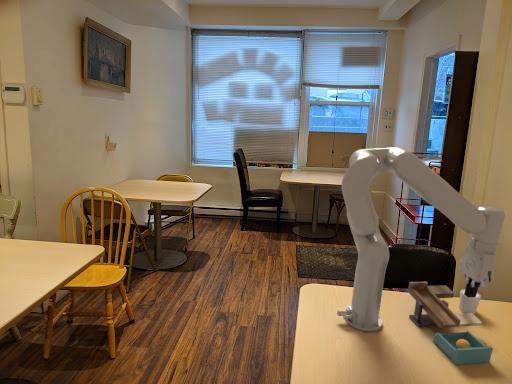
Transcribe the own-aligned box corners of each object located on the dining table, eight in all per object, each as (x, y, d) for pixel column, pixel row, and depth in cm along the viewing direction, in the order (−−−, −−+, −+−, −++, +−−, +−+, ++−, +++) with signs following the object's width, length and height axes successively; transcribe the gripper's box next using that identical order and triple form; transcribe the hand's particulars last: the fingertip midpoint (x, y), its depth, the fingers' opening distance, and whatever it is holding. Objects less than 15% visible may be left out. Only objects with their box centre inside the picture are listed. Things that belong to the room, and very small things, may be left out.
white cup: (480, 316, 138) (484, 299, 136) (460, 313, 139) (463, 296, 137) (473, 306, 144) (477, 290, 142) (454, 303, 145) (458, 287, 144)
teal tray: (455, 364, 111) (458, 350, 110) (433, 341, 121) (435, 328, 120) (489, 362, 113) (492, 348, 111) (464, 339, 123) (467, 326, 122)
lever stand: (418, 327, 129) (421, 307, 127) (408, 317, 134) (412, 298, 133) (449, 325, 131) (453, 306, 129) (438, 315, 136) (442, 297, 135)
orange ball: (459, 356, 114) (463, 346, 113) (451, 346, 118) (455, 336, 116) (471, 355, 115) (475, 345, 113) (462, 345, 118) (466, 335, 117)
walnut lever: (439, 327, 121) (442, 317, 120) (407, 291, 140) (409, 282, 139) (481, 325, 124) (484, 315, 123) (444, 289, 142) (447, 280, 141)
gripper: (456, 235, 125) (445, 284, 130) (490, 254, 111) (476, 308, 116) (476, 236, 127) (464, 284, 131) (512, 254, 112) (497, 308, 117)
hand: (469, 295), depth 123 cm, fingers closed
